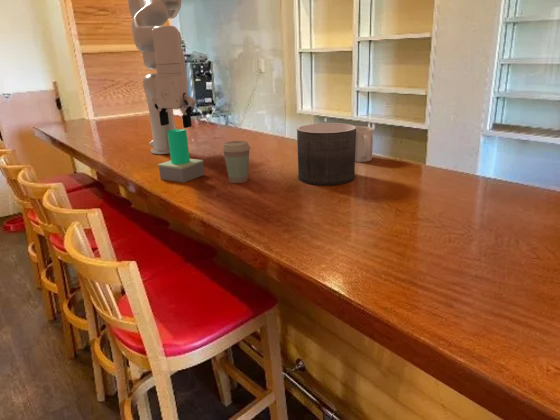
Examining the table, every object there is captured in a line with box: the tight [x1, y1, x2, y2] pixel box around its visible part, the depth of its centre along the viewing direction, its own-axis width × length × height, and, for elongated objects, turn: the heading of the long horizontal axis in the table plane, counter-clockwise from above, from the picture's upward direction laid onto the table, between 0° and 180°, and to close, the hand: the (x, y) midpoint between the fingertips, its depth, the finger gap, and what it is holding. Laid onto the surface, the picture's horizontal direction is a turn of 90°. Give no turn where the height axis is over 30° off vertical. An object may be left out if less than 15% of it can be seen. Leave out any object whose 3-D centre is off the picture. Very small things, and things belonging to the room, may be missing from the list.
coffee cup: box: [222, 140, 251, 184], centre depth 131 cm, size 8×8×12 cm
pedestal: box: [157, 158, 205, 184], centre depth 139 cm, size 10×10×5 cm
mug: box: [355, 126, 374, 163], centre depth 152 cm, size 10×12×11 cm
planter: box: [296, 122, 357, 186], centre depth 130 cm, size 18×18×16 cm
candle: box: [167, 125, 191, 164], centre depth 136 cm, size 6×6×12 cm
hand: (176, 126), depth 135 cm, fingers open, 9 cm apart
